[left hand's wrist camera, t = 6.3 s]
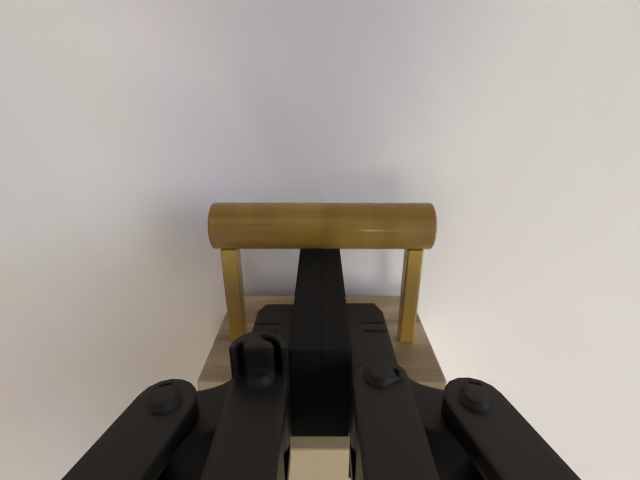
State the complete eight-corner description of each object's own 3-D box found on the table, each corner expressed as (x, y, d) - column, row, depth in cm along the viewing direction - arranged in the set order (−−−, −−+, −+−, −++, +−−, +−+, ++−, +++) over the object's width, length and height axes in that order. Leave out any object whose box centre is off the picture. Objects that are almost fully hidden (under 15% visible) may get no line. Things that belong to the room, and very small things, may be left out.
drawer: (222, 180, 17) (171, 227, 11) (422, 181, 17) (473, 227, 11) (255, 513, 25) (236, 634, 20) (387, 514, 25) (406, 635, 20)
